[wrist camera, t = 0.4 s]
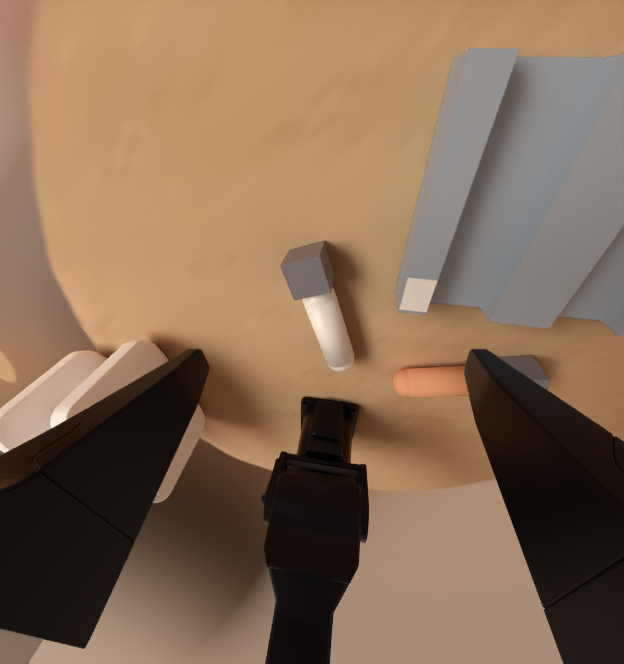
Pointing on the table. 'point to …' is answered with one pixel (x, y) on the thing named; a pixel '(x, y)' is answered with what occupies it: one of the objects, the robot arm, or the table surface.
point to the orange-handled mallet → (457, 378)
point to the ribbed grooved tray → (523, 193)
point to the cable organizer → (89, 398)
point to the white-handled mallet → (319, 301)
